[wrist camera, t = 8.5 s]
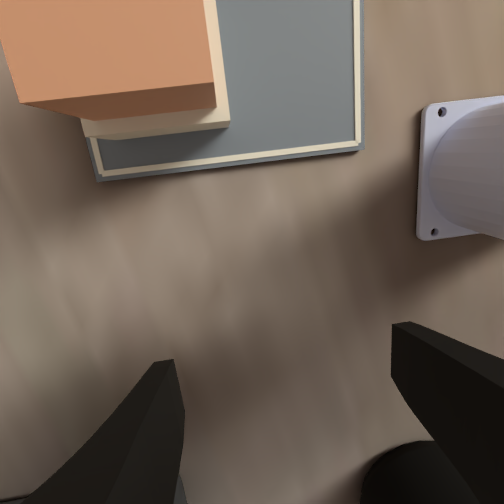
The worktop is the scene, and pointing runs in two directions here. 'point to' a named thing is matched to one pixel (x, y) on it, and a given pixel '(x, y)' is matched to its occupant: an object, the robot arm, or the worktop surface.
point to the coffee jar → (416, 478)
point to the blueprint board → (253, 94)
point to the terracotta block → (108, 56)
